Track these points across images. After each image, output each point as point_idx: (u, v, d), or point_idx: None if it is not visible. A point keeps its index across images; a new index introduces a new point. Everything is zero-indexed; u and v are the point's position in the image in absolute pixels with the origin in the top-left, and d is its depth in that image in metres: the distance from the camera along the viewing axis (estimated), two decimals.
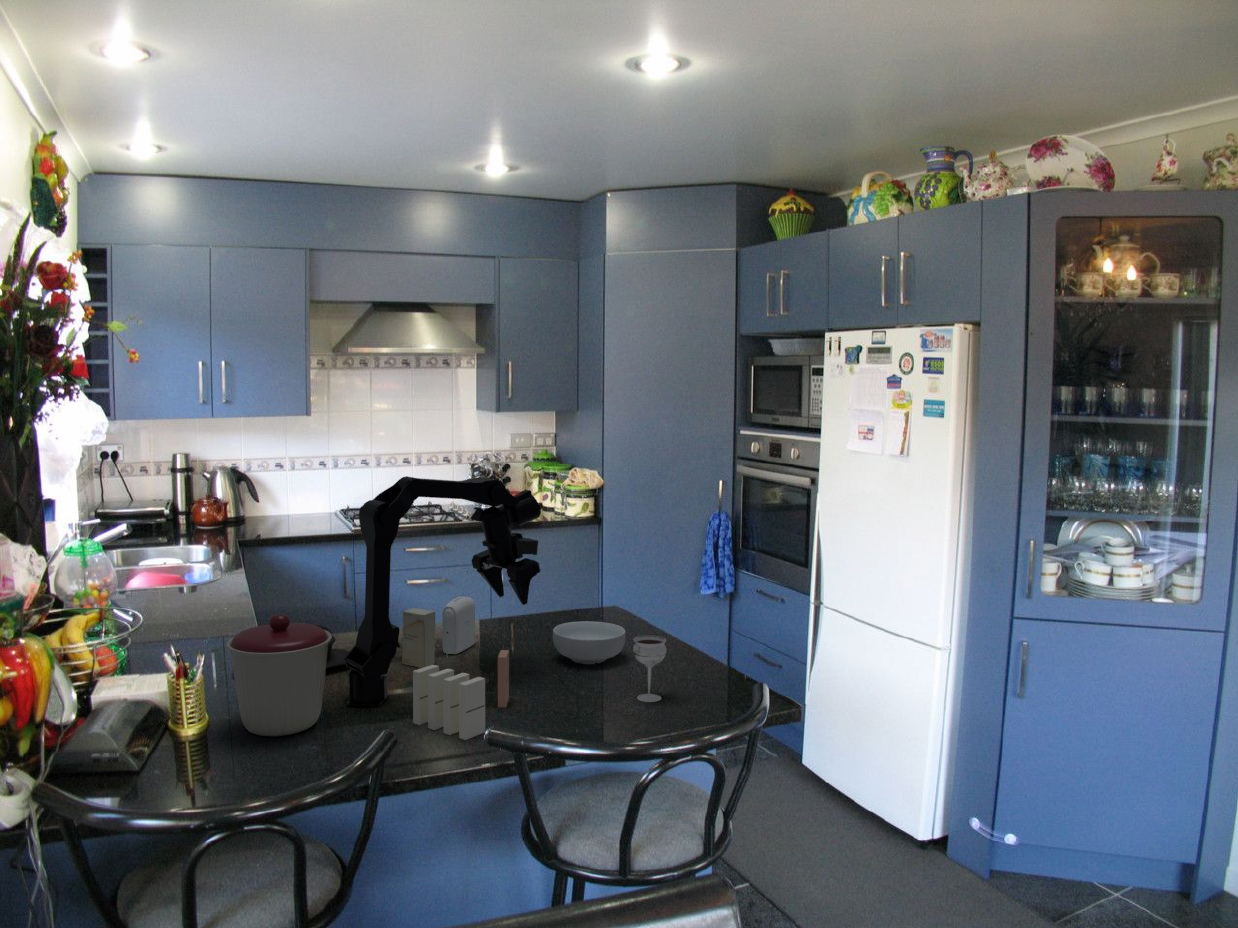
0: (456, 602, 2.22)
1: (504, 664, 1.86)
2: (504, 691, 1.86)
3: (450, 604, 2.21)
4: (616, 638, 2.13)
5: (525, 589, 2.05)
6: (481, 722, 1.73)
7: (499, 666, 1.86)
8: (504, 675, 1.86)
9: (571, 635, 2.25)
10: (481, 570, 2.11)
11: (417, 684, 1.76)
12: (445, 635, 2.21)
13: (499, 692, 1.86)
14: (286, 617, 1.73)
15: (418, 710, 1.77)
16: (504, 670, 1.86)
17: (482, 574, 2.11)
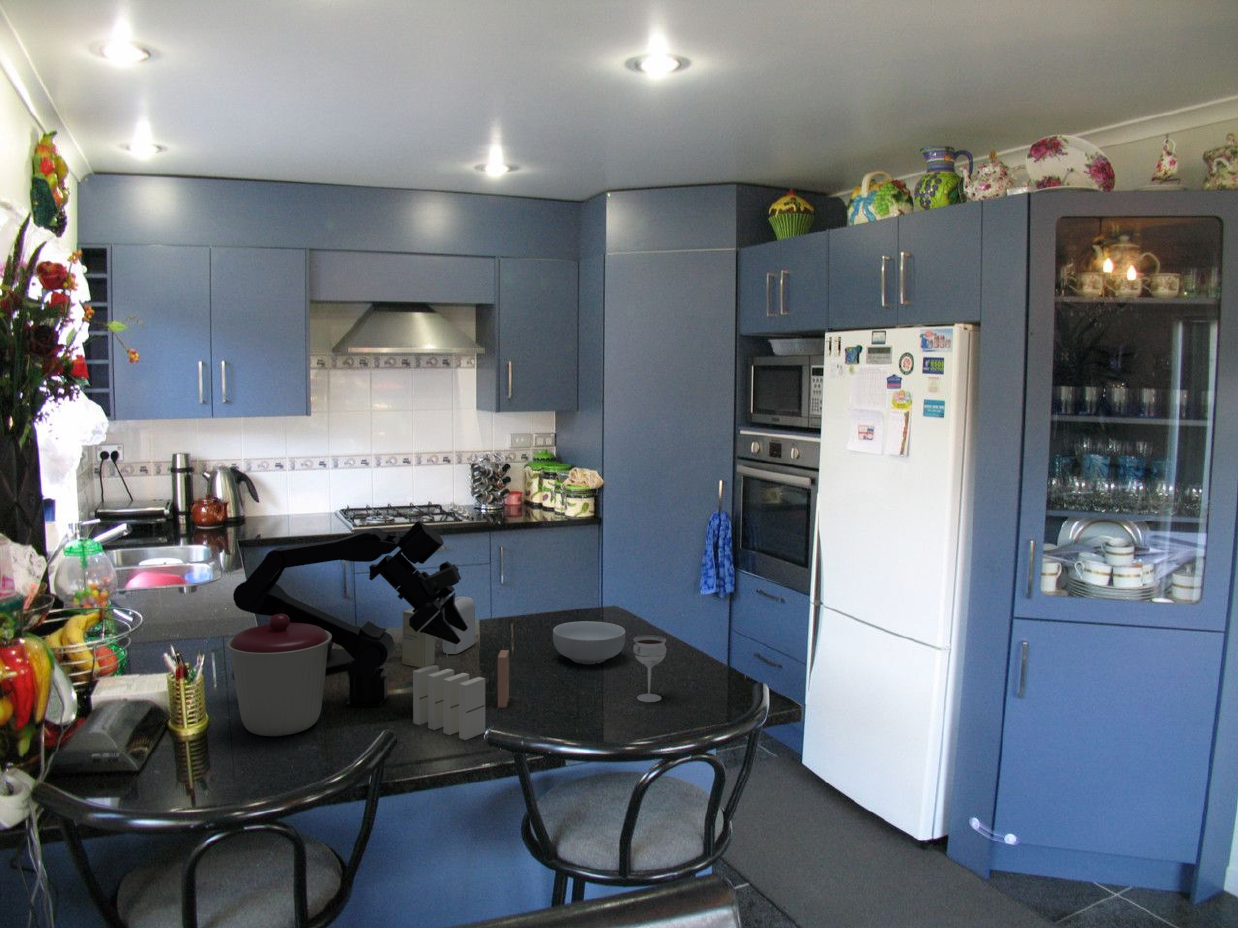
0: (456, 602, 2.22)
1: (504, 664, 1.86)
2: (504, 691, 1.86)
3: None
4: (616, 638, 2.13)
5: (445, 630, 1.82)
6: (481, 722, 1.73)
7: (499, 666, 1.86)
8: (504, 675, 1.86)
9: (571, 635, 2.25)
10: None
11: (417, 684, 1.76)
12: None
13: (499, 692, 1.86)
14: (286, 617, 1.73)
15: (418, 710, 1.77)
16: (504, 670, 1.86)
17: None
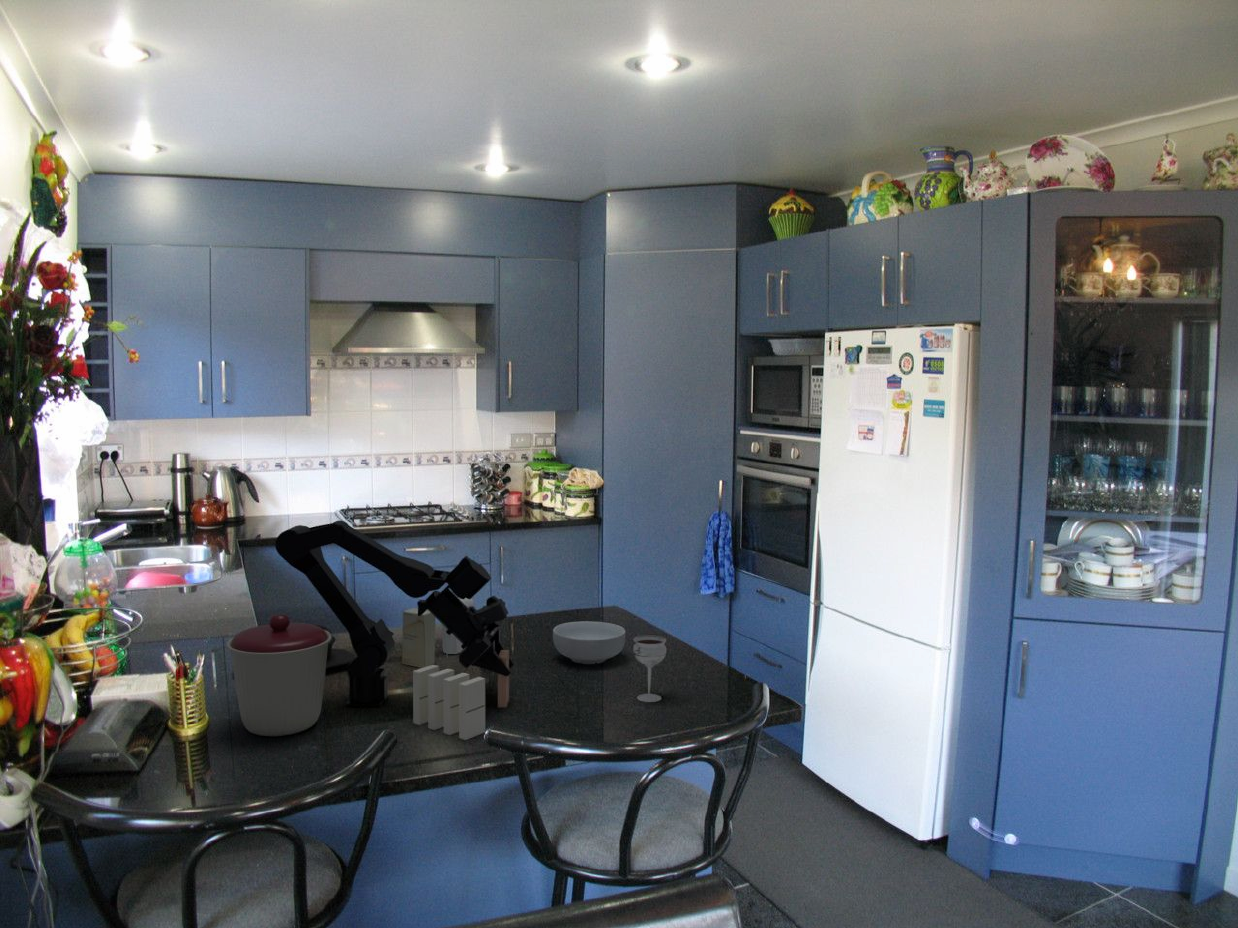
0: None
1: None
2: (504, 691, 1.86)
3: None
4: (616, 638, 2.13)
5: (496, 662, 1.84)
6: (481, 722, 1.73)
7: None
8: None
9: (572, 635, 2.25)
10: None
11: (417, 684, 1.76)
12: (445, 635, 2.21)
13: (499, 692, 1.86)
14: (286, 617, 1.73)
15: (418, 710, 1.77)
16: None
17: None
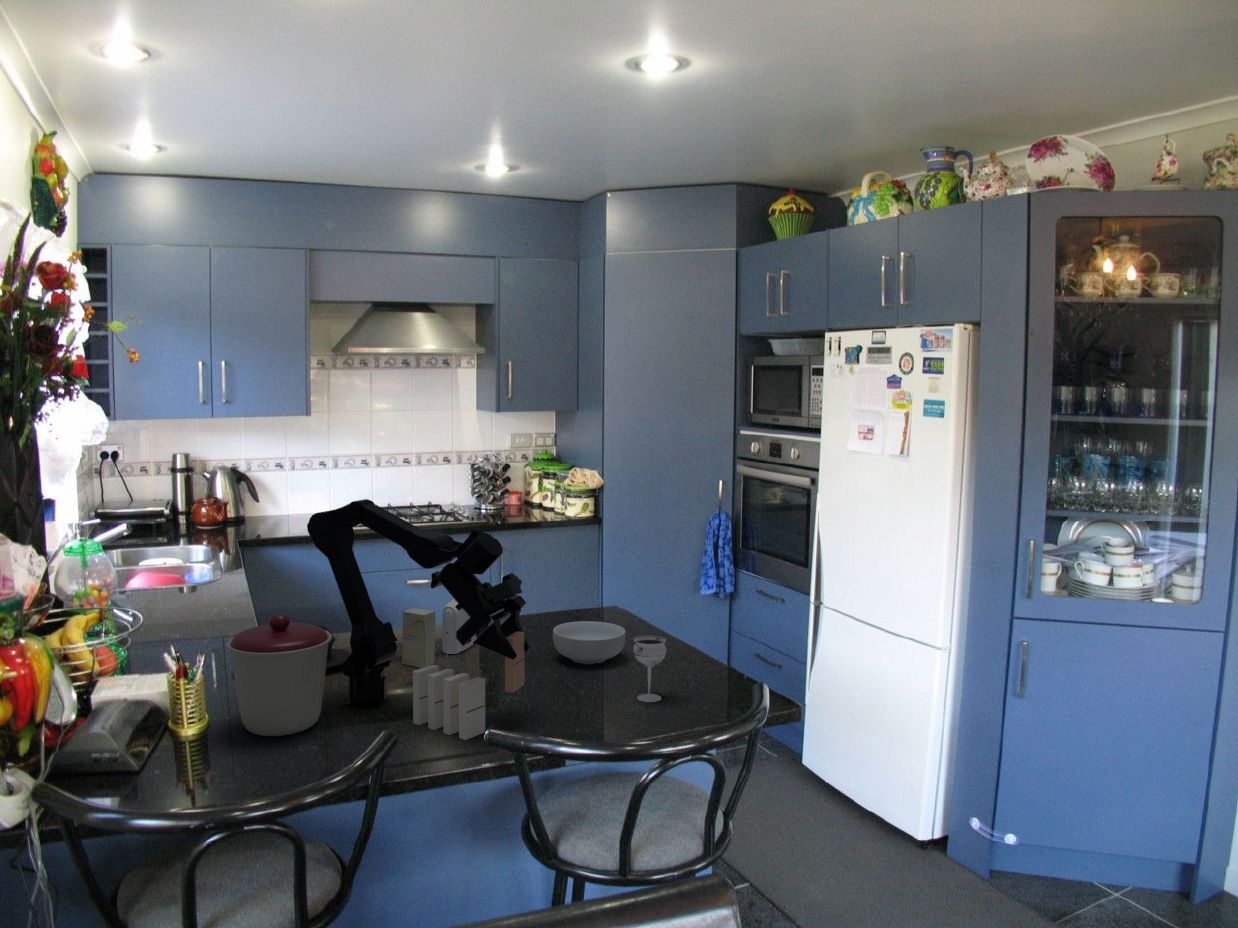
0: (456, 602, 2.22)
1: None
2: (511, 675, 1.73)
3: (450, 604, 2.21)
4: (616, 638, 2.13)
5: (500, 643, 1.72)
6: (481, 722, 1.73)
7: None
8: None
9: (571, 635, 2.25)
10: None
11: (417, 684, 1.76)
12: (445, 635, 2.21)
13: (506, 675, 1.74)
14: (286, 617, 1.73)
15: (418, 710, 1.77)
16: None
17: None
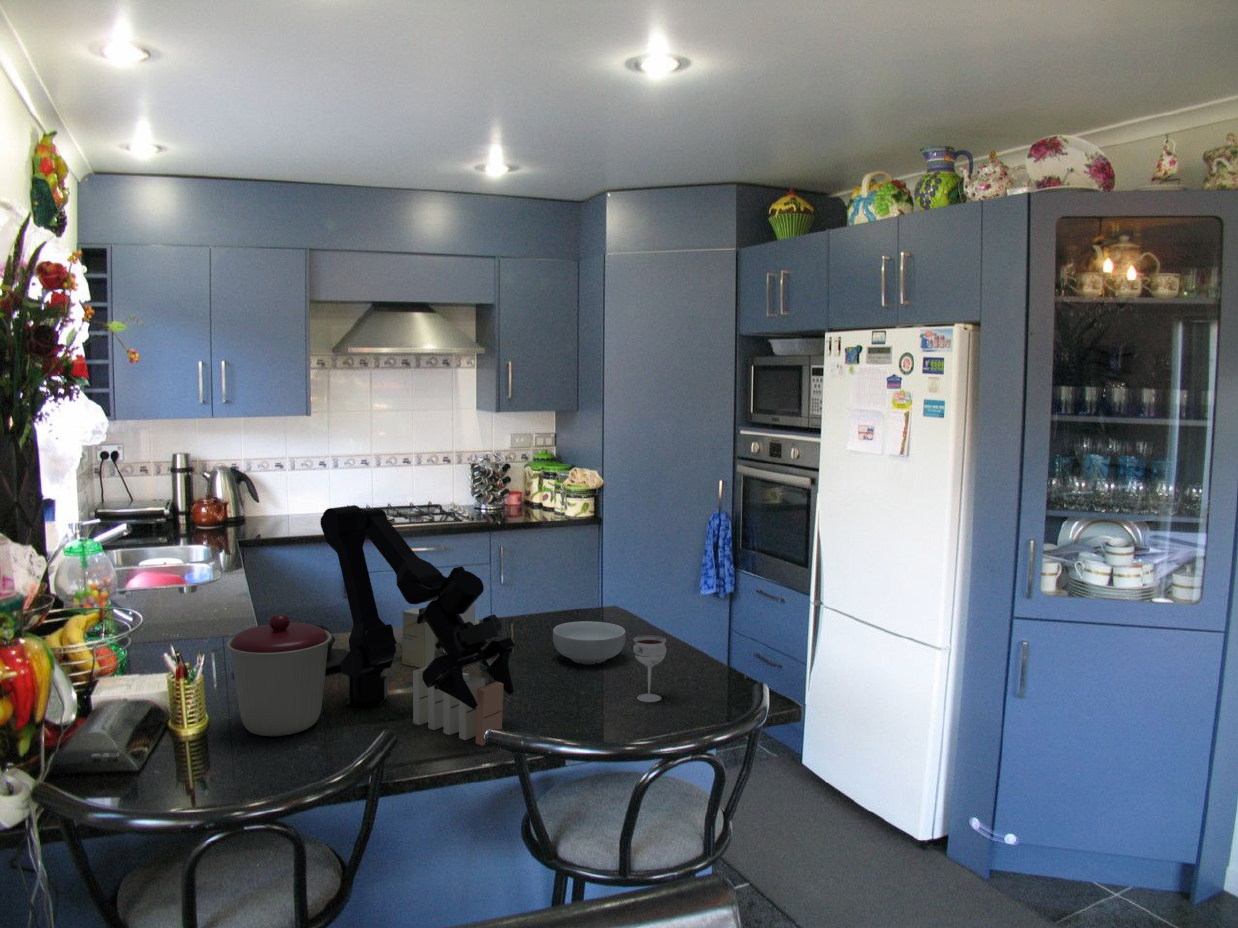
0: None
1: (482, 698, 1.66)
2: (481, 727, 1.67)
3: None
4: (616, 638, 2.13)
5: (461, 691, 1.65)
6: None
7: (478, 698, 1.67)
8: (482, 710, 1.67)
9: (571, 635, 2.25)
10: None
11: (417, 684, 1.76)
12: None
13: (477, 727, 1.68)
14: (286, 617, 1.73)
15: (418, 710, 1.77)
16: (482, 704, 1.67)
17: None
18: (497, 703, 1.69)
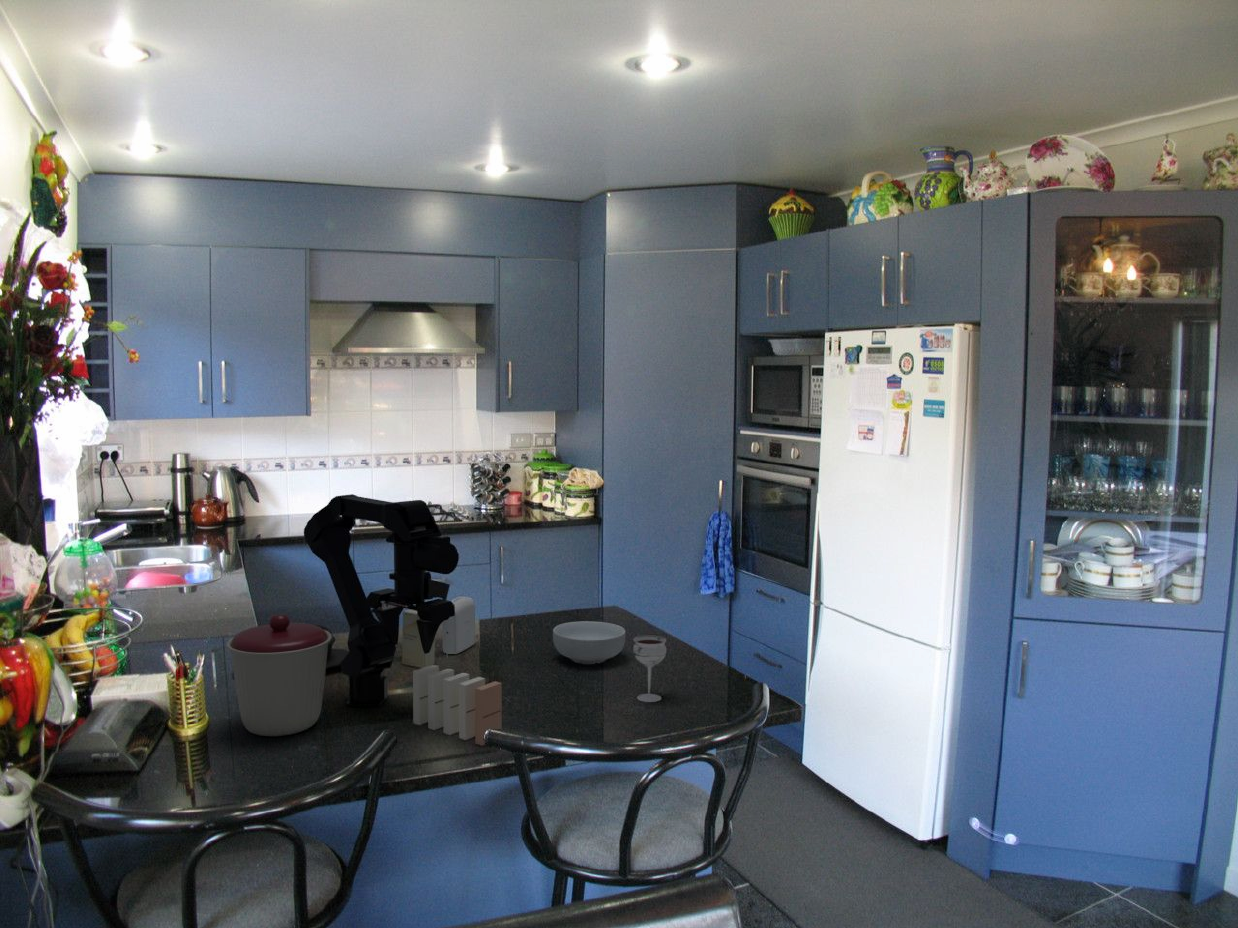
0: (456, 602, 2.22)
1: (480, 697, 1.67)
2: (480, 727, 1.67)
3: None
4: (616, 638, 2.13)
5: (431, 635, 1.77)
6: None
7: (476, 698, 1.67)
8: (480, 709, 1.67)
9: (571, 635, 2.25)
10: (378, 610, 1.82)
11: (417, 684, 1.76)
12: (445, 635, 2.21)
13: (476, 727, 1.68)
14: (286, 617, 1.73)
15: (418, 710, 1.77)
16: (480, 704, 1.67)
17: (378, 615, 1.81)
18: (496, 703, 1.70)
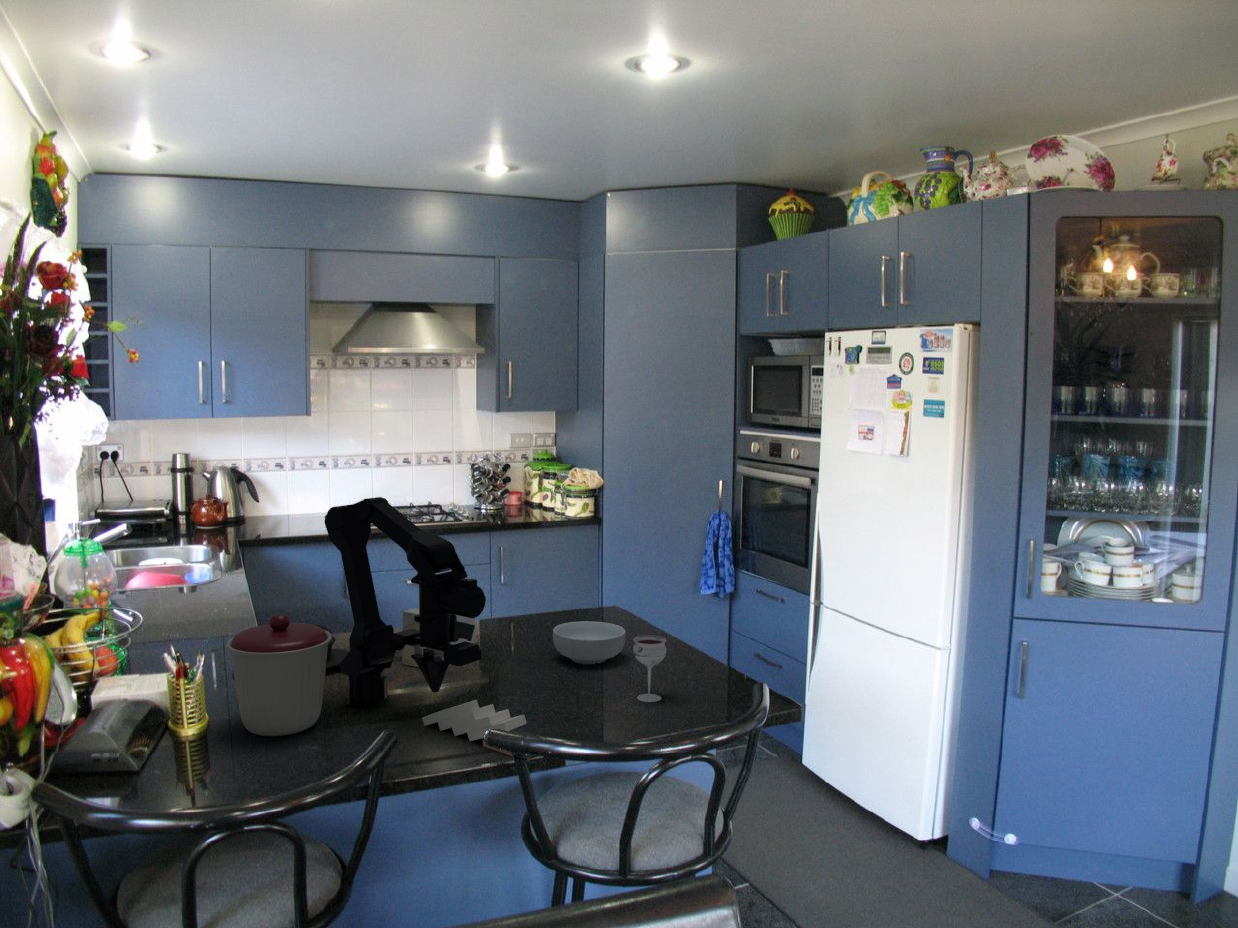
0: None
1: None
2: (496, 749, 1.65)
3: None
4: (616, 638, 2.13)
5: (441, 674, 1.76)
6: None
7: None
8: (509, 753, 1.63)
9: (571, 635, 2.25)
10: (417, 656, 1.76)
11: (450, 715, 1.72)
12: None
13: None
14: (286, 617, 1.73)
15: (433, 722, 1.75)
16: None
17: (418, 661, 1.75)
18: None
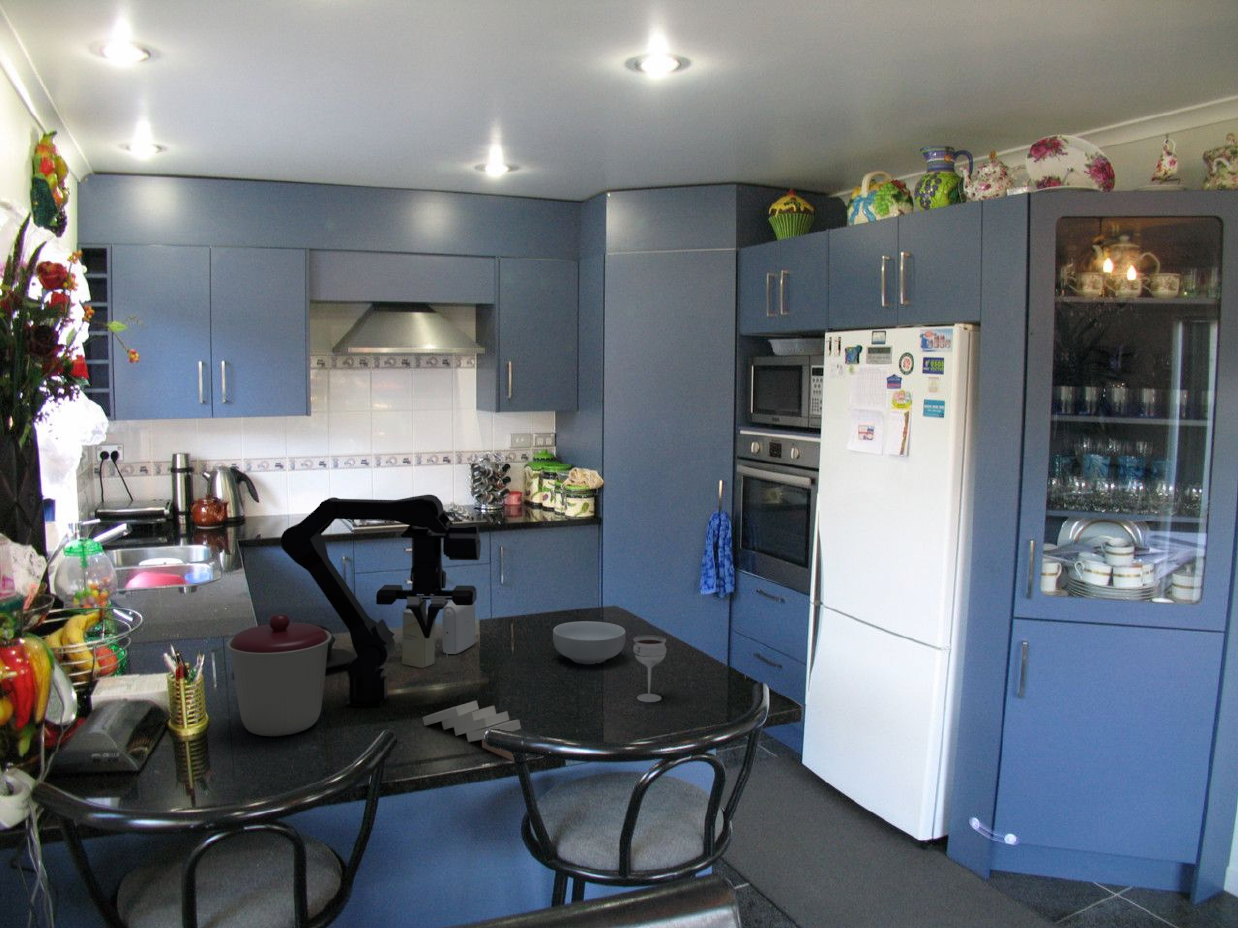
0: None
1: None
2: (493, 751, 1.64)
3: (450, 604, 2.21)
4: (616, 638, 2.13)
5: (434, 619, 1.88)
6: None
7: None
8: (505, 756, 1.62)
9: (571, 635, 2.25)
10: (414, 606, 1.85)
11: (449, 716, 1.72)
12: (445, 635, 2.21)
13: None
14: (286, 617, 1.73)
15: (433, 722, 1.75)
16: (509, 757, 1.62)
17: (416, 610, 1.85)
18: None
